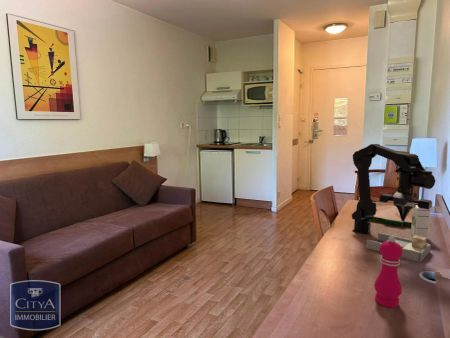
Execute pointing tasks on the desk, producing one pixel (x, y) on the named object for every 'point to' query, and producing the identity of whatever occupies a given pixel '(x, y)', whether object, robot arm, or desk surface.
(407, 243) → the tray
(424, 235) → the syrup box
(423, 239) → the wooden cube
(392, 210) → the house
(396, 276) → the pepper mill
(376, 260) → the desk surface
